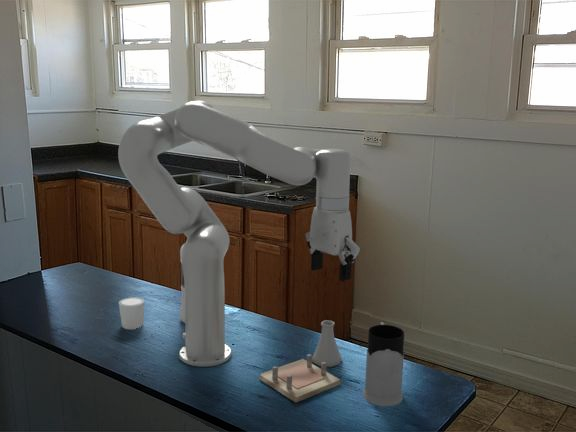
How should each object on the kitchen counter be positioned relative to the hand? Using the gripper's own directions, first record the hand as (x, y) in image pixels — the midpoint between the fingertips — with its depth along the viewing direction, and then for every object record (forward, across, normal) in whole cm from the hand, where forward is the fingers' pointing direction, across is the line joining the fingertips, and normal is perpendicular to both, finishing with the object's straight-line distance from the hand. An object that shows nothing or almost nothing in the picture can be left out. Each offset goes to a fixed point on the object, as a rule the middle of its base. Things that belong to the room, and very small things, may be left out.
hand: (330, 274), depth 144 cm
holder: (+22, +17, 0) cm, 28 cm away
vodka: (+22, -41, -12) cm, 48 cm away
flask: (+22, 0, 0) cm, 22 cm away
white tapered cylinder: (+22, -48, -28) cm, 60 cm away
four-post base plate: (+22, +4, -12) cm, 25 cm away
